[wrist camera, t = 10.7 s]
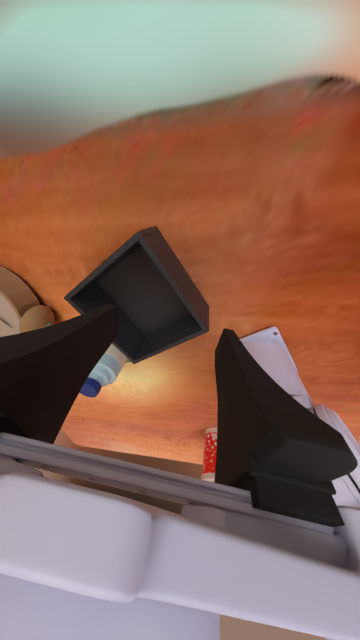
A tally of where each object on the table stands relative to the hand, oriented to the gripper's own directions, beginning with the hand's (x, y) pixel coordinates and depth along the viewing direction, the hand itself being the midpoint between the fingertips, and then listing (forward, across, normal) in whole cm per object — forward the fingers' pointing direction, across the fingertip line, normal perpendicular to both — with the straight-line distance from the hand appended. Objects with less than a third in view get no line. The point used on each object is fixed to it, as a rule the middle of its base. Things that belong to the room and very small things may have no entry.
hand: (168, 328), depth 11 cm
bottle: (+10, +9, +13) cm, 18 cm away
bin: (+10, +4, +3) cm, 12 cm away
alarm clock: (+11, +24, +10) cm, 28 cm away
